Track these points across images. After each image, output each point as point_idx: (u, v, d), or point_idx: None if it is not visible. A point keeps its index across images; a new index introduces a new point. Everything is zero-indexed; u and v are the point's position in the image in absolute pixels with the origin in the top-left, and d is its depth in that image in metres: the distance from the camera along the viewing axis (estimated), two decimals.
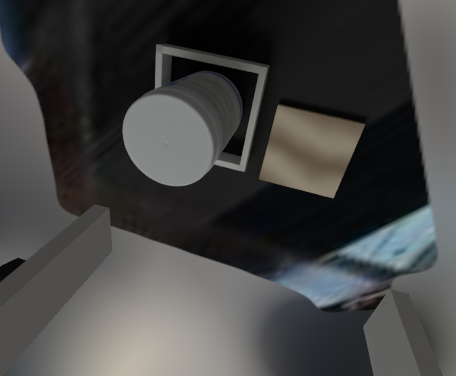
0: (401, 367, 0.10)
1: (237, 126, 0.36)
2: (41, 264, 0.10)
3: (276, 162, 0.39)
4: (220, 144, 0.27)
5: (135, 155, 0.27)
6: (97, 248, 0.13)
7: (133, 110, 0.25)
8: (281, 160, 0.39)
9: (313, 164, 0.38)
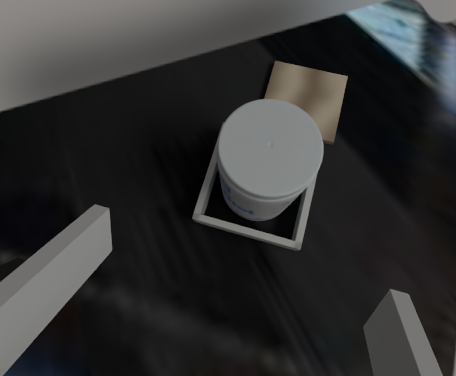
0: (401, 366, 0.10)
1: None
2: (41, 264, 0.10)
3: None
4: None
5: (285, 185, 0.23)
6: (97, 248, 0.13)
7: (232, 173, 0.23)
8: None
9: (312, 94, 0.40)
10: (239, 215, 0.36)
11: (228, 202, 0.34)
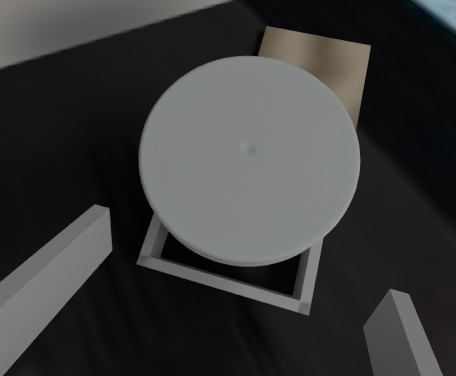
0: (401, 367, 0.10)
1: None
2: (41, 264, 0.10)
3: None
4: None
5: (279, 237, 0.10)
6: (97, 248, 0.13)
7: (167, 211, 0.11)
8: None
9: (321, 71, 0.28)
10: None
11: None
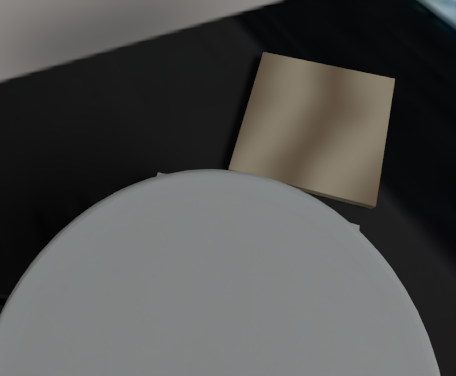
0: None
1: None
2: None
3: (333, 171, 0.21)
4: None
5: None
6: None
7: None
8: (329, 163, 0.21)
9: (332, 112, 0.22)
10: None
11: None
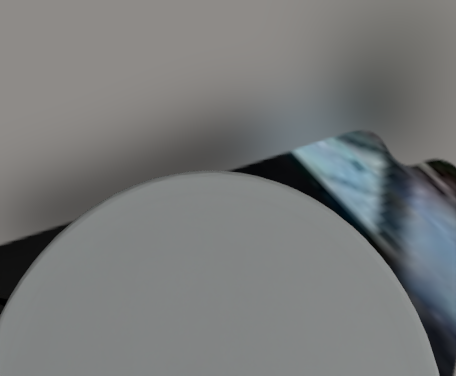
0: None
1: None
2: None
3: None
4: None
5: None
6: None
7: None
8: None
9: None
10: None
11: None
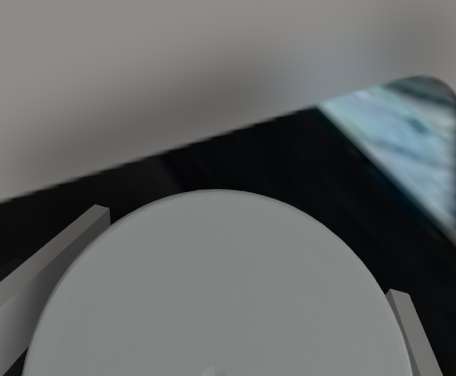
0: None
1: None
2: (41, 264, 0.10)
3: None
4: None
5: None
6: None
7: None
8: None
9: None
10: None
11: None
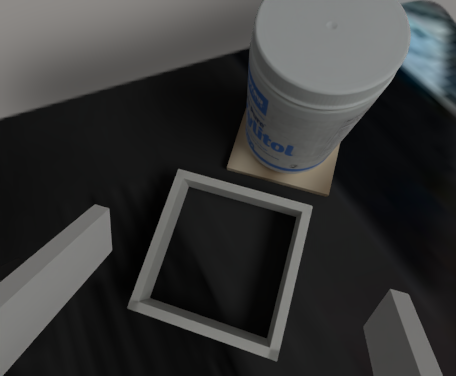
0: (401, 367, 0.10)
1: None
2: (41, 264, 0.10)
3: None
4: None
5: (357, 78, 0.15)
6: (97, 248, 0.13)
7: (278, 63, 0.16)
8: None
9: None
10: (268, 166, 0.28)
11: (256, 145, 0.26)
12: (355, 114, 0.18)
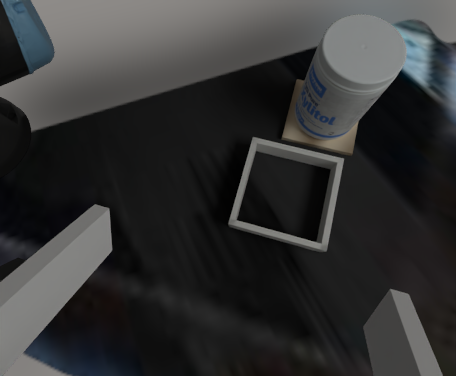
0: (401, 367, 0.10)
1: None
2: (41, 264, 0.10)
3: None
4: None
5: (379, 75, 0.29)
6: (97, 248, 0.13)
7: (337, 67, 0.30)
8: None
9: None
10: (311, 135, 0.42)
11: (306, 120, 0.40)
12: (376, 95, 0.32)
